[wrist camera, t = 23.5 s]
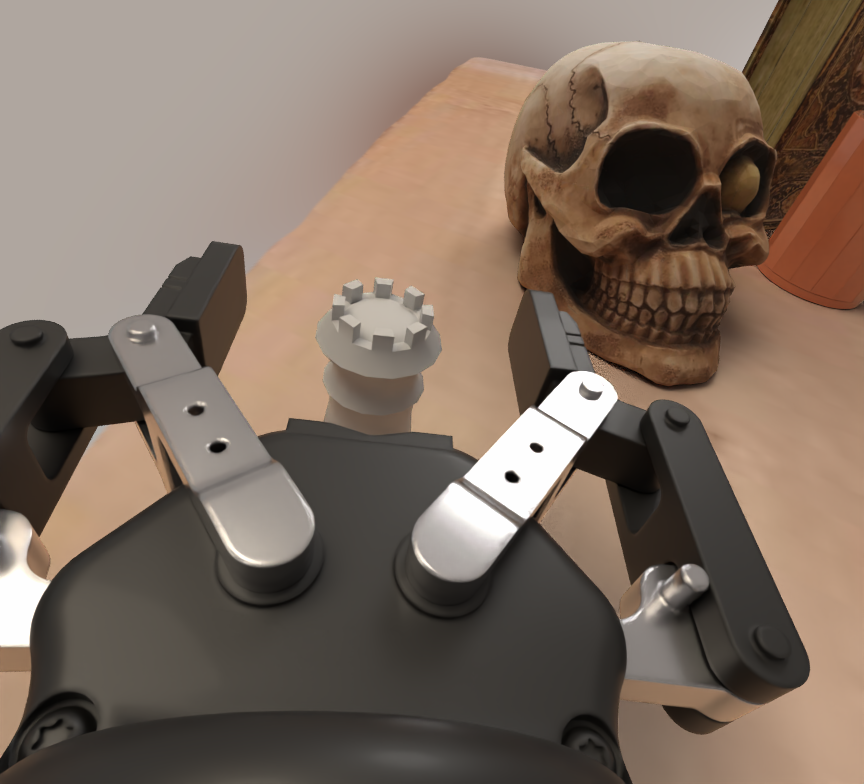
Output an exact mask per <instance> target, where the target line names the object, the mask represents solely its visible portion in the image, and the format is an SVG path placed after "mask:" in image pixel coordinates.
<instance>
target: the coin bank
mask: <svg viewBox="0 0 864 784" xmlns="http://www.w3.org/2000/svg"><path fill="white" fill-rule="evenodd" d="M776 160H777V152H776V150H775V149H773V148H772V147H770V146H769V145H768V144H767V143H766V141H765V140H764V137H763V124H762V118H761V112H760V108H759V105H758V102H757V100H756V97H755V95H754V92H753V90H752V88H751V86H750V84H749V82H748V81H747V79H746V78H745V76H744V75H743V73H742V72H740V71H738V70H737V69H735V68H733V67H731V66H729V65H728V64H726V63H724V62H721V61H718V60H716V59H713V58H711V57H708V56H706V55H703V54H701V53H698V52H694V51H689V50H684V49H678V48H674V47H668V46H660V45H652V44H647V43H644V42H640V41H632V42H613V43H612V42H611V43H599V44H595V45H590V46H586V47H583V48H581V49H578V50H576V51H574V52H572V53H570V54H568V55H566V56H565V57H563V58H562V59H560V60H559V61H558V62H556V63H555V64H554V65H553V66H552V67H551V68H550V69H549V70H548V71H547V72H546V73H545V74H544V75H543V76H542V78H541V79H540V80H539V82H538V83H537V84H536V86H535V87H534V89H533V90H532V92H531V93H530V94H529V96H528V97H527V98H526V100H525V102H524V104H523V106H522V109H521V111H520V113H519V115H518V118H517V120H516V123H515V126H514V129H513V132H512V136H511V139H510V143H509V147H508V152H507V157H506V163H505V172H504V182H505V197H506V201H507V210H508V217H509V219H510V221H511V223H512V224H513V226H514V227H515V228H516V229H517V230H518V231H519V232H520V233H521V234H522V235H523V237H524V239H525V241H524V244H523V246H522V249H521V256H520V261H519V266H518V276H517V278H518V280H519V282H520V283H521V285H522V286H523V287H525V288H527V289H531V290H538V291H544V292H551V293H553V295H554V298H555V301H556V304H557V307H558V310H559V311H564V312H567V313H568V314H569V315H570V316H571V317H572V318H573V319H574V320H575V321H576V323H577V324H578V327H579V330H580V333H581V337H582V338H583V341H584V344H585V345H584V346H585V347H586V349H587V350H589V351H591V352H592V353H594V354H596V355H598V356H600V357H602V358H603V359H605V360H607V361H610V362H613V363H616V364H619V365H622V366H624V367H627V368H629V369H632V370H634V371H636V372H638V373H640V374H642V375H643V376H645V377H647V378H648V379H650V380H651V381H653V382H655V383H657V384H662V385H666V386H672V385H677V384H696V383H702V382H706V381H707V380H708V379H709V378H710V377H711V376H712V375H713V373H715V372H716V371H717V368H718V364H719V348H720V331H719V330H718V329H717V327H718V326H719V325H720V320H721V318H722V317H723V315H724V313H725V312H726V310H727V306H728V304H729V302H730V296H731V294H732V292H733V290H734V288H735V285H734V282H733V280H732V278H731V276H730V274H729V269H731V268H736V267H742V266H752V265H760V264H762V263H763V262H764V261H765V260H766V259H767V257H768V255H769V242H768V239H767V235H766V232H765V228H764V226H763V221H764V219H765V216H766V213H767V210H768V207H769V197H770V186H771V182H772V178H773V173H774V168H775V164H776Z"/></svg>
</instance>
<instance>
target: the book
mask: <svg viewBox="0 0 864 784" xmlns="http://www.w3.org/2000/svg"><path fill="white" fill-rule="evenodd" d="M742 73H743V75H744V76H745V78H746V79H747V81H748V82H749V84H750V86H751V88H752V90H753V92H754V95H755V97H756V100H757V102H758V105H759V108H760V112H761V118H762V124H763V137H764V140H765V141H766V143H767V144H768V145H769V146H770V147H772V148H773V149H775V150H776V152H777V160H776V164H775V168H774V173H773V178H772V182H771V186H770V197H769V207H768V210H767V213H766V216H765V219H764V221H763V226H764V228H765V230H768V229H776V228H777V227H778V225H779V224H780V222H781V221H782V219H783V218H784V216H785V215H786V213H787V212H788V210H789V209H790V207H791V206H792V204H793V203H794V201H795V200H796V198H797V197H798V195H799V194H800V192H801V191H802V189H803V188H804V186H805V185H806V183H807V182H808V180H809V179H810V177H811V176H812V174H813V173H814V171H815V170H816V168H817V167H818V165H819V164H820V162H821V161H822V159H823V158H824V156H825V155H826V153H827V152H828V150H829V149H830V147H831V146H832V144H833V143H834V141H835V140H836V138H837V137H838V135H839V134H840V132H841V130H842V129H843V127H844V126H845V124H846V123H847V121H848V120H849V118H850V117H851V115H852V114H853V112H855V111H858V110H864V0H779V1H778V3H777V5H776V7H775V9H774V11H773V12H772V14H771V16H770V18H769V20H768V22H767V24H766V26H765V28H764V30H763V32H762V34H761V36H760V38H759V40H758V42H757V44H756V46H755V48H754V50H753V52H752V54H751V56H750V57H749V60H748V61H747V64H746V65H745V67H744V69H743V71H742Z"/></svg>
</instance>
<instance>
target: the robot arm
mask: <svg viewBox="0 0 864 784" xmlns="http://www.w3.org/2000/svg"><path fill="white" fill-rule="evenodd" d="M246 304H247V290H246V277H245V265H244V254H243V248H242V247H241V246H240V245H234V244H228V243H221V242H214V241H212V242H211V243H210V245H209V246H208V248H207V249H206V251H205V253H204V254H203V256H202V257H201V258H198V257H189V258H187V259H186V260H184V261H182V262H180V263H179V264H177V265H176V266H175V267H174V269H173V270H172V272H171V273H170V274H169V276H168V278H167V279H166V280H165V282H164V283H163V285H162V288H160V289H159V291H158V292H157V294H156V295H155V297H154V298H153V299H152V301H151V302H150V304H149V305H148V307H147V308H146V310H145V311H144V313H143V314H142V315H135V316H131V317H127V318H125V319H122V320H120V321H119V322H117V323H116V324H114V325H113V326H112V328H111V329H110V330H109V333H108V335H107V336H100V337H88V338H73V339H69V338H68V336H67V333H66V331H65V329H64V328H63V327H62V326H61V325H59V324H57V323H55V322H51V321H45V320H30V321H23V322H19V323H15V324H11V325H9V326H7V327H5V328H3V329H1V330H0V672H22V671H31V680H30V687H29V694H28V698H27V702H26V707H25V711H24V714H23V717H22V720H21V723H20V725H19V727H18V730H17V732H16V734H15V736H14V738H13V739H12V741H11V743H10V744H9V746H8V747H7V749H6V751H5V752H4V754H3V755H2V757H1V758H0V784H632V781H631V779H630V777H629V774H628V772H627V769H626V766H625V764H624V761H623V758H622V755H621V751H620V746H619V740H618V706H619V700H626V701H634V702H643V703H651V704H660V705H662V706H663V708H664V710H665V711H666V713H667V714H668V715H669V717H670V718H671V719H672V720H673V721H674V722H675V723H677V724H678V725H679V726H680V727H682V728H683V729H685V730H687V731H689V732H691V733H694V734H700V735H703V734H709V733H711V732H713V731H715V730H717V729H719V728H721V727H723V726H725V725H727V724H729V723H731V722H732V721H734V720H736V719H738V718H740V717H742V716H744V715H746V714H748V713H750V712H752V711H754V710H755V709H757V708H759V707H761V706H763V705H765V704H767V703H769V702H771V701H773V700H775V699H777V698H778V697H780V696H782V695H784V694H786V693H788V692H790V691H792V690H794V689H796V688H798V687H800V686H801V685H803V684H804V683H805V682H806V680H807V679H808V676H809V672H810V663H809V659H808V655H807V652H806V650H805V648H804V645H803V643H802V641H801V639H800V637H799V634H798V632H797V630H796V628H795V626H794V624H793V621H792V619H791V617H790V615H789V613H788V610H787V608H786V606H785V604H784V602H783V599H782V597H781V595H780V593H779V591H778V589H777V586H776V584H775V582H774V580H773V578H772V575H771V573H770V571H769V569H768V567H767V565H766V562H765V560H764V558H763V556H762V554H761V551H760V549H759V547H758V545H757V543H756V540H755V538H754V536H753V534H752V532H751V530H750V527H749V525H748V523H747V521H746V519H745V516H744V514H743V512H742V510H741V508H740V506H739V503H738V501H737V499H736V497H735V495H734V492H733V490H732V488H731V486H730V484H729V481H728V479H727V477H726V475H725V473H724V471H723V468H722V466H721V464H720V462H719V460H718V457H717V455H716V453H715V451H714V449H713V447H712V444H711V442H710V440H709V438H708V436H707V433H706V431H705V429H704V427H703V425H702V423H701V421H700V419H699V418H698V417H697V416H696V415H695V414H694V413H693V412H692V411H691V410H690V409H688V408H687V407H685V406H683V405H681V404H679V403H677V402H674V401H670V400H656V401H654V402H653V403H651V405H650V406H649V408H648V409H647V411H646V410H643V409H641V408H638V407H635V406H632V405H629V404H627V403H624V402H622V401H620V400H618V399H617V398H618V397H617V392H616V390H615V388H614V387H613V386H612V384H611V383H609V382H608V381H607V380H606V379H604V378H603V377H601V376H599V375H597V374H595V371H594V369H593V366H592V363H591V360H590V357H589V355H588V352H587V349H586V347H585V346H584V345H585V344H584V341H583V338H582V337H581V333H580V330H579V327H578V324H577V323H576V321H575V320H574V319H573V318H572V317H571V316H570V315H569V314H568V313H567V312H564V311H559V310H558V307H557V304H556V301H555V298H554V295H553V293H551V292H544V291H538V290H531V289H527V290H526V291H525V293H524V295H523V297H522V300H521V303H520V306H519V309H518V312H517V315H516V318H515V321H514V323H513V326H512V329H511V332H510V337H509V343H508V352H509V358H510V363H511V369H512V374H513V379H514V385H515V390H516V396H517V401H518V406H519V412H520V418H519V419H518V420H517V421H516V422H515V423H514V424H513V425H512V426H511V427H510V428H509V429H508V430H507V432H506V433H505V434H504V435H503V436H502V437H501V438H500V439H499V440H498V441H497V442H496V443H495V444H494V445H493V446H492V447H491V448H490V450H489V451H488V452H487V453H486V454H485V455H484V456H483V457H482V458H481V459H480V460H479V461H478V460H476V459H475V458H473V457H472V456H470V455H468V454H466V453H464V452H462V451H459V450H457V449H454V448H453V441H452V436H446V435H437V434H428V433H419V432H406V433H395V434H384V435H368V434H365V433H362V432H358V431H355V430H352V429H349V428H346V427H343V426H339V425H336V424H333V423H329V422H320V421H311V420H302V419H293V418H289V421H288V425H287V428H286V430H283V431H276V432H271V433H267V434H264V435H260V436H258V437H257V435H256V434H255V432H254V431H253V429H252V428H251V426H250V425H249V423H248V422H247V420H246V419H245V417H244V416H243V414H242V413H241V411H240V410H239V408H238V407H237V405H236V404H235V402H234V400H233V399H232V397H231V396H230V394H229V393H228V391H227V390H226V388H225V387H224V385H223V384H222V382H221V381H220V379H219V378H218V375H219V372H220V370H221V368H222V365H223V363H224V361H225V359H226V356H227V354H228V352H229V349H230V347H231V345H232V343H233V340H234V338H235V336H236V333H237V331H238V329H239V326H240V324H241V322H242V320H243V317H244V314H245V310H246ZM134 421H135V424H136V426H137V428H138V430H139V432H140V434H141V436H142V438H143V441H144V443H145V445H146V447H147V449H148V451H149V453H150V455H151V457H152V459H153V461H154V463H155V465H156V467H157V469H158V471H159V473H160V476H161V478H162V480H163V483H164V486H165V489H166V491H167V495H165V496H164V497H162V498H161V499H159V500H158V501H156V502H155V503H153V504H152V505H150V506H149V507H148V508H146V509H145V510H143V511H142V512H140V513H139V514H137V515H136V516H134V517H133V518H131V519H130V520H128V521H127V522H125V523H124V524H123V525H121V526H120V527H118V528H117V529H115V530H114V531H112V532H111V533H109V534H108V535H106V536H105V537H103V538H102V539H100V540H99V541H98V542H96V543H95V544H93V545H92V546H90V547H89V548H87V549H86V550H84V551H83V552H81V553H80V554H79V555H77V556H76V557H75V558H73V559H72V560H71V561H70V562H69V563H68V564H67V565H65V566H64V567H63V568H62V569H61V570H60V571H59V573H58V574H57V575H56V576H55V577H54V578H53V580H52V581H51V580H47V579H46V577H47V574H48V570H49V567H50V555H49V553H48V551H47V549H46V548H45V546H44V545H43V543H42V541H41V540H40V538H39V537H40V535H41V533H42V531H43V529H44V527H45V525H46V523H47V522H48V520H49V518H50V516H51V514H52V512H53V510H54V508H55V506H56V505H57V503H58V501H59V499H60V497H61V495H62V493H63V491H64V489H65V487H66V486H67V484H68V482H69V480H70V478H71V476H72V474H73V472H74V470H75V469H76V467H77V465H78V463H79V461H80V459H81V457H82V455H83V453H84V452H85V450H86V448H87V446H88V444H89V442H90V440H91V438H92V436H93V434H94V433H95V431H96V429H97V427H98V426H103V425H111V424H118V423H126V422H134ZM577 469H580V470H582V471H585V472H588V473H590V474H593V475H595V476H598V477H601V478H603V479H606V484H607V489H608V493H609V497H610V501H611V505H612V509H613V513H614V517H615V522H616V526H617V530H618V534H619V538H620V542H621V546H622V550H623V555H624V559H625V563H626V567H627V571H628V575H629V579H630V583H631V587H630V588H629V589H628V590H627V591H626V592H625V593H624V594H623V596H622V597H621V600H620V605H619V609H620V619H619V618H618V616H617V614H616V612H615V610H614V608H613V607H612V605H611V604H610V602H609V601H608V599H607V598H606V597H605V595H604V594H603V593H602V592H601V591H600V589H599V588H598V587H597V586H596V585H595V584H594V583H593V582H592V581H591V580H590V579H589V577H588V576H587V575H586V574H585V573H584V572H583V571H582V570H581V569H580V568H579V567H578V565H577V564H576V563H575V562H574V561H573V560H572V559H571V558H570V557H569V556H568V555H567V553H566V552H565V551H564V550H563V549H562V548H561V547H560V546H559V545H558V544H557V543H556V541H555V540H554V539H553V538H552V537H551V536H550V535H549V534H548V533H547V532H546V531H545V529H544V528H543V527H542V526H541V525H540V522H541V521H542V519H543V517H544V516H545V514H546V513H547V511H548V510H549V508H550V507H551V505H552V504H553V503H554V501H555V500H556V498H557V497H558V496H559V494H560V493H561V491H562V490H563V489H564V487H565V486H566V484H567V483H568V481H569V480H570V479H571V477H572V476H573V474H574V473H575V472H576V470H577Z"/></svg>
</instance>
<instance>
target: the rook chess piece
mask: <svg viewBox="0 0 864 784" xmlns="http://www.w3.org/2000/svg"><path fill="white" fill-rule="evenodd" d="M393 281H394V279H385V278H377V277H375V282H374V291H373V292H369V293H363V284H362V283H361V282H360V281H359V280H358V279H356V280H354V281H351V282H349V283H346V284H344V285H343V292H342V296H341V295H337V294H334V298H333V307H332V308H331V309H330V310H329V311H328V312H327V313H326V314H325V315H324V316H323V317H322V318H321V320H320V321H319V322H318V325H317V331H316V337H315V338H316V340H317V342H318V344H319V346H320V348H321V350H322V352H323V354H324V355H325V356H326V357H327V358H328V359H329V360H330V362H329V363H328V364H327V365H326V367H325V368H324V375H323V383H324V385H325V387H326V389H327V391H328V394H329V395H330V396H329V402H328V406H327V410H326V414H325V418H324V422H329V423H333V424H336V425H339V426H343V427H346V428H349V429H352V430H355V431H358V432H362V433H365V434H368V435H384V434H395V433H406V432H411V413H412V408H413V404H415V403H417V401H418V400H419V398H420V396H421V394H422V392H423V390H424V385H423V376H422V374H421V373H420V372H422V371H423V370H425V369H427V368H428V367H430V366H431V365H433V364H434V363H435V361H436V359H437V358H438V356H439V354H440V352H441V351H442V348H441V339H440V334H439V333H438V331H437V330H436V328H435V327H434V325H433V319H434V311H433V305H423V300H424V295H425V294H423V293H422V292H420V291H419V290H417V289H416V288H414V287H413V286H409V287H408V288H407V289H405V293H404V298H401V297H398V296H396V295H393V294H392V288H393Z"/></svg>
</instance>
